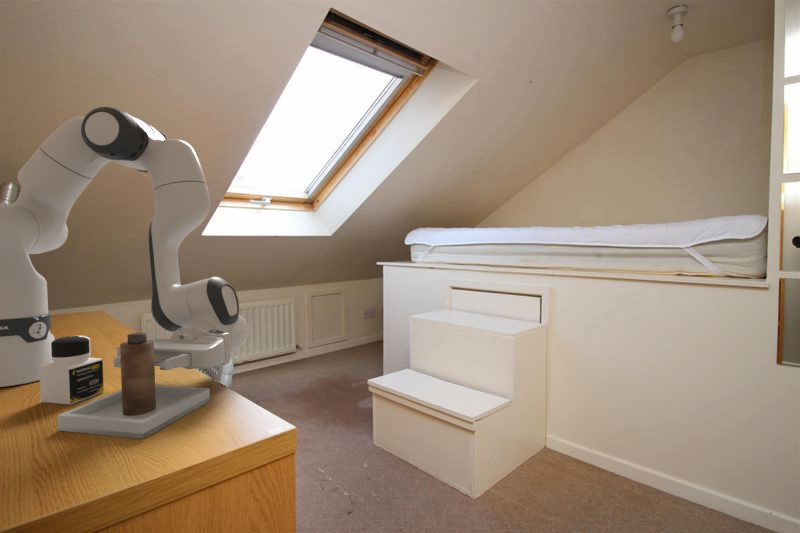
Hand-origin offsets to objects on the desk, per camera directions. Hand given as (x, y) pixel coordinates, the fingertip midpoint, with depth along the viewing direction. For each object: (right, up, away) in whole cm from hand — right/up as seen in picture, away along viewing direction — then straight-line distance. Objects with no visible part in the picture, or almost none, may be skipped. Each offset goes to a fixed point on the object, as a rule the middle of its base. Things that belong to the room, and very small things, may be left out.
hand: (139, 364), depth 74 cm
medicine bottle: (-19, -9, +9) cm, 22 cm away
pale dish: (0, -9, 0) cm, 9 cm away
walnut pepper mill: (0, -8, 0) cm, 8 cm away
